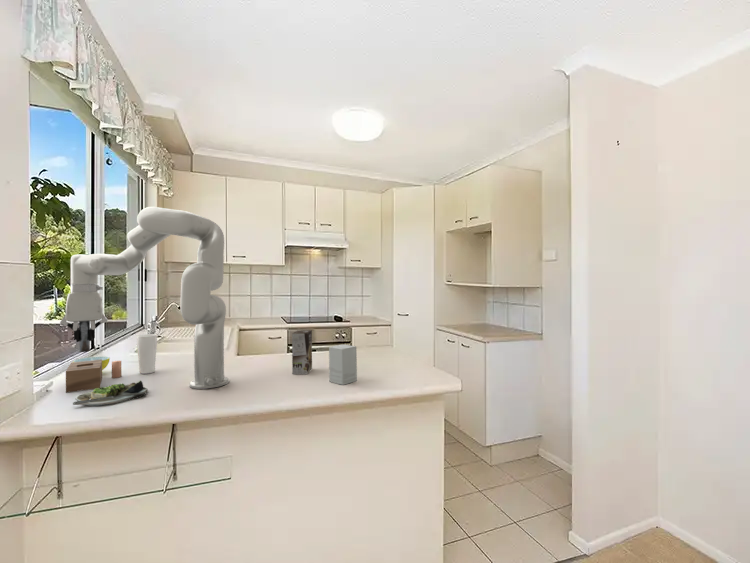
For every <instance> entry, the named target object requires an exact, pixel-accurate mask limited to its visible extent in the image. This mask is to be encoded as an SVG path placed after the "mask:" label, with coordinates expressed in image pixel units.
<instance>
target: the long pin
mask: <svg viewBox="0 0 750 563" xmlns="http://www.w3.org/2000/svg"><path fill="white" fill-rule="evenodd" d="M78 328H79V342H78V352H79V353H86V352H90V351H91V341H89V330H90V328H91V323H90V321H81V322H79V324H78Z"/></svg>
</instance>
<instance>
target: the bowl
mask: <svg viewBox="0 0 750 563" xmlns="http://www.w3.org/2000/svg"><path fill="white" fill-rule="evenodd" d="M101 359H102V371H103V370H105V369H106V368H107V367H108V365H109V363H110V359H111V358H110V356H89V357H83V358H78V359H74V360H73V361H72V363H73V362H82V361H92V360H101Z"/></svg>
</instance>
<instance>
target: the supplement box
mask: <svg viewBox="0 0 750 563" xmlns="http://www.w3.org/2000/svg"><path fill="white" fill-rule="evenodd" d="M357 358H358V357H357V346H355V345H349V344H339V345H333V346H329V347H328V359H329V360H328V366H329V367H328V368H329V370H328V371H329V373H328V374H329V376H328V377H329V382H331V383H334V384H338V385H341V386H342V385H343V386H344V385H347V384H351V383H355V382H357V381H358V372H357V371H358V366H357V363H358V362H357V360H358V359H357Z"/></svg>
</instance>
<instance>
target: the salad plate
mask: <svg viewBox="0 0 750 563" xmlns="http://www.w3.org/2000/svg"><path fill="white" fill-rule="evenodd" d="M145 393H146V394H147V393H149V389H148V388H147V387H145V386H144V384H143V381H142V380H139V381H137V382H132V383H129V384H125V383H123V382H122V383H118V384H117V383H115V384H111V385H108V386H106V387H104V386H102V387H101V386H100V388H95V389H92V391H89V392H85V393H81V394H78V396H76V397H75V400H76V401H74V402H72V406H74V405H77V406H80V405H81V406H86V407H92V406H93V407H94V406H107V405H114V404H117V403H122V402H126V401H130V400H134V399H137V397H138V398H140V396H141V397H143V396H145V395H146V394H145ZM144 394H145V395H144ZM133 398H134V399H133ZM129 399H130V400H129Z"/></svg>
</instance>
